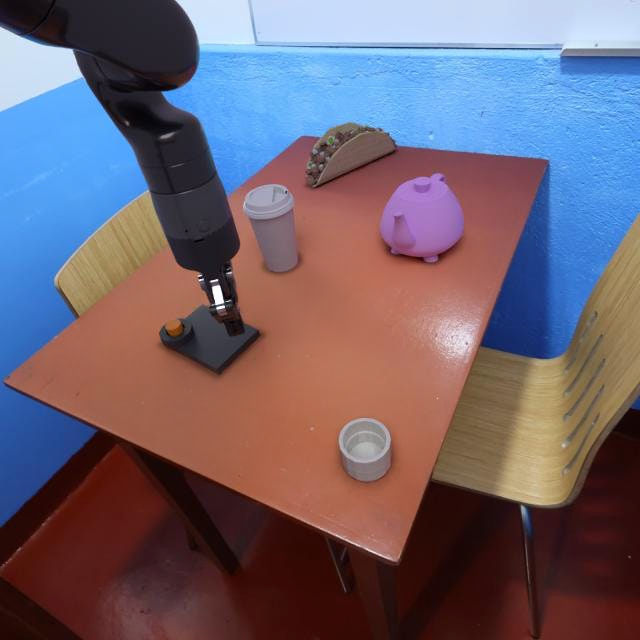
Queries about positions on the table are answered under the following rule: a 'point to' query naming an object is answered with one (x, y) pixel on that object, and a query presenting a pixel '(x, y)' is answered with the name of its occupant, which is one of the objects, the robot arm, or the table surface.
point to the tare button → (174, 327)
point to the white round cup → (365, 449)
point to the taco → (346, 151)
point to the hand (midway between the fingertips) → (237, 331)
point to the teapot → (422, 218)
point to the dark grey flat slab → (208, 340)
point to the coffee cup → (273, 225)
